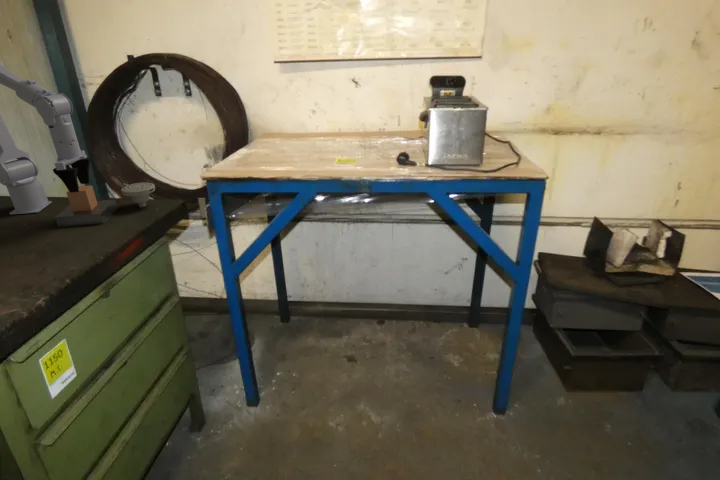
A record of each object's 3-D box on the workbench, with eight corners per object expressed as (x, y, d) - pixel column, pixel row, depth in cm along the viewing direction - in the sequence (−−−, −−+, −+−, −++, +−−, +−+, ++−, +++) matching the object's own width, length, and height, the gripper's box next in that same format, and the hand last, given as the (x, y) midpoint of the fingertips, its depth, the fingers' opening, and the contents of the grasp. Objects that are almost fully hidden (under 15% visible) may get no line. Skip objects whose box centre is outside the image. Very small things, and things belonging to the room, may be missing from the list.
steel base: (75, 211, 130) (72, 202, 129) (117, 208, 132) (114, 199, 131) (58, 226, 120) (54, 217, 118) (103, 223, 122) (100, 213, 120)
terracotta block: (79, 205, 126) (73, 186, 124) (97, 204, 127) (92, 185, 125) (72, 211, 122) (66, 192, 119) (91, 210, 123) (85, 190, 120)
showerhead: (132, 178, 136) (160, 180, 134) (138, 199, 139) (164, 201, 137) (111, 188, 128) (140, 189, 126) (117, 210, 131) (146, 212, 129)
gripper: (69, 145, 110) (84, 194, 116) (91, 134, 123) (103, 179, 129) (40, 147, 109) (56, 196, 115) (64, 135, 122) (78, 180, 128)
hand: (79, 187), depth 122 cm, fingers open, 7 cm apart
